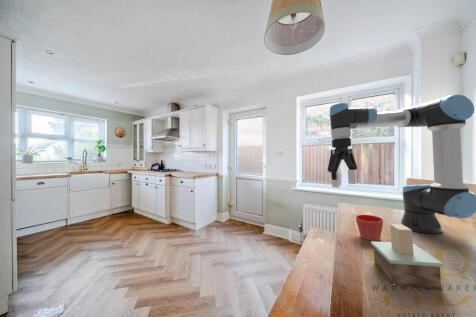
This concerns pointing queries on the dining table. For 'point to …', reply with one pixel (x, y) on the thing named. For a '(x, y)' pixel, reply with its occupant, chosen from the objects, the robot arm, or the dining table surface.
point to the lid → (404, 249)
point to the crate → (409, 273)
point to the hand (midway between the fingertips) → (344, 185)
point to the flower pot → (369, 227)
